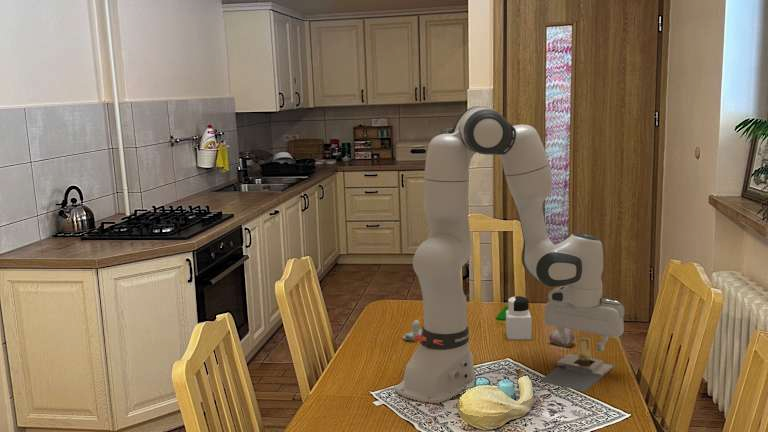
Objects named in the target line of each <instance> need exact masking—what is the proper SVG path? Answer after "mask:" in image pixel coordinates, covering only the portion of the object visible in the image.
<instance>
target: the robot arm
mask: <svg viewBox="0 0 768 432" xmlns="http://www.w3.org/2000/svg"><path fill="white" fill-rule="evenodd" d="M426 153H427V154H426V158H425V164H424V165H425V166H424V177H423V178H424V181H423V184H424V185H423V211H424V214H425V216H426V220H427V227H428V237H427V239H426V240H424V241H422V242H421V243H420V244H419V245H418V246H417V248H416V251H415V253H414V254H413V258H412V268H413V270H414V273H415V275H416V276H417V278H418V282H419V286H420V291H421V296H422V306H423V307H422V308H423V326H422V328H421V329H422V332H421V335H420V334H415V336H414V337H415V338H414V342H416V343H417V342H418V343H419V346H418V348H417V349H416V350H415V352H414V353H413V354H412V356H411V358H410V359H409V361H408V363H407V364H406V366H405V368H404V374H403V375H404V377H403V380H402V381H400V383H398V384H397V385H396V386H395V387H394V392H397V393H396V394H398V395H399V394H400V395H399V396H401V395H402V397H403V396H404V397H403V398H406V397H407V398H406V399H409V398H410V400H412V399H413V400H412V401H416V400H417V401H416V402H420V401H421V402H422V403H426V402H429V403H428V404H440V402H441V403H444V402H446V401H448V400H450V399H449V398H451V399H453V398H455V397H457V396H456V395H458V394H460V393H462V392H464V391H465V390H467V389H466V388H463V387H465V386H467V385H468V384H470V383H472V382H473V381H475V380H476V376H475V367H474V358H473V353H472V351H471V349H470V347H469V346H470V345H469V341H470V338H469V337H470V331H469V326H468V325H467V322H468V321H467V320H468V318H467V317H468V316H467V312H468V311H467V297H466V295H465V292H464V288H463V284H462V279H461V271H462V267H464V266H465V265H466V264H467V263H468V262H469V260H470V257H471V254H472V249H473V242H472V240H471V228H470V222H469V213H468V210H469V208H468V207H469V205H468V204H469V188H470V187H469V184H470V183H469V180H470V165H471V161H472V160H473V159H472V158H473V157H474V156H475V154H476V153H477V154H479V155H485V156H486V155H487V156H488V155H490V156H491V155H494V156H495V155H497V156H498V158H499V159H500V161H501V163H502V168H503V173H504V175H505V180H506V183H507V186H508V188H509V192H510V194H511V197H512V199H513V201H514V203H515V207H516V209H517V214H518V219H519V224H520V229H521V232H522V238H523V239H522V240H523V243H522V244H523V246H522V251H521V262H522V266H523V268H524V270H525V271H526V272H527V273H529V275H532V276H534V278H536V280H538V281H539V282H541V283H542V284H543V285H545V286H547V287H552V288H553V287H554V289H552V290H551V291H549V292H548V295H547V298H548V301H547V302H546V304H545V309H544V315H543V316H544V319H543V320H544V322H545V324H546V325H547V326H552V327H556V328H557V329H556V330H557V331H558V332H559V334H560V336H561V343H563V344H568V343H569V336H566V334H565V332H564V329H565V328H567V329H569V330H571V331H576V332H577V331H579V332H582V333H589V334H594V335H599V336H600V339H602V340H601V342H597V343H596V348H595V349H596V351H599V352H604V350H605V344H606V343H607V341H608V340H609V338H610V337H611V338H616V339H618V338H619V337H620V336H621V335H623V334H624V332H625V330H624V329H625V328H624V327H625V325H624V316H625V306H624V305H623V304H622V303H621V302H619V300H615V299H614V300H612V299H608V298H603V281H602V274H603V271H604V251H603V250H604V249H603V248H604V247H603V243H602V241H601V239H600V238H597V237H596V236H594V235H593V234H592V235H591V234H588V233H583V232H575V233H572V234H571V235H570V236H568V237H567V238H566V239H564V240H563V241H561V242H559V243H556V244H554V243H553V242H552V240H551V239H550V238H549V235H548V232H547V226H546V221H545V217H544V210H543V206H544V205H543V204H544V202H545V200H546V199H547V198H548V197H549V196H550V194H551V192H552V190H553V179H552V172H551V171H552V170H551V167H550V163H549V160H548V155H547V152H546V149H545V147H544V143H543V142H542V139H541V136H540V135H539V133H538V131H537V130H536V128H535V127H534V126H532V125H528V124H515V125H512V124H511V122H509V121H508V120H507V119H506V118H505V116H503V115H502V114H501V113H499V112H498V111H496V110H495V109H493V108H491V107H488V106H479V105H478V106H472V107H470V108H467V109H466V110H465V111H464V112H463V113H462V114H461V115H460V117H459V118H458V120H457V122H456V123H455V124H454V126H453V128H452V129H451V131H450V133H442V134H441V133H440V134H438V135H436V136H434V137H433V138H432V139H431V140H430V142H429V143H428V147H427V152H426ZM462 394H463V393H462ZM460 395H461V394H460ZM454 396H455V397H454ZM458 396H459V395H458ZM452 397H453V398H452ZM447 399H448V400H447ZM445 400H446V401H445ZM443 401H444V402H443ZM421 402H420V403H421Z"/></svg>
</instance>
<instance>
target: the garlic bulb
mask: <svg viewBox="0 0 768 432" xmlns="http://www.w3.org/2000/svg"><path fill="white" fill-rule="evenodd" d="M564 332H565V334H566V336H569V343H568V344H563V343H561V336H560V334H559V332H558V331H557V329H555V330H553V331H551V332H550V333H549V335H548V340H549V342H551V343H552V344H554V345H557V346H560V347H562V348H570V347H571V346H572V345H573V344H572V343H573V342H574V341H575V338H576V335H575V334H574V332H573V330H572V329H567V328H565V329H564Z"/></svg>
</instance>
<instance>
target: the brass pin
mask: <svg viewBox="0 0 768 432" xmlns="http://www.w3.org/2000/svg"><path fill="white" fill-rule="evenodd" d="M577 341H578V343H577V345H578V346H577V350H578V351H577V352H578V353H577V355H578V364H579V365H584V366H590V358H591V338H590V337H587V336H581V337H578V338H577Z"/></svg>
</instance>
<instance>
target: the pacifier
mask: <svg viewBox="0 0 768 432" xmlns="http://www.w3.org/2000/svg"><path fill="white" fill-rule="evenodd" d="M420 326H421V322H420V321H419V319H415V320H414V321H413V322H412V323H411V329H412V331H411V332H407V333H404V335H403V336H402V339H403V340H406V341H412V340H414V338H415V337H414V336H415V334H420V335H421V332H422V329H423V328H420ZM419 328H420V329H419ZM414 341H415V340H414Z"/></svg>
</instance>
